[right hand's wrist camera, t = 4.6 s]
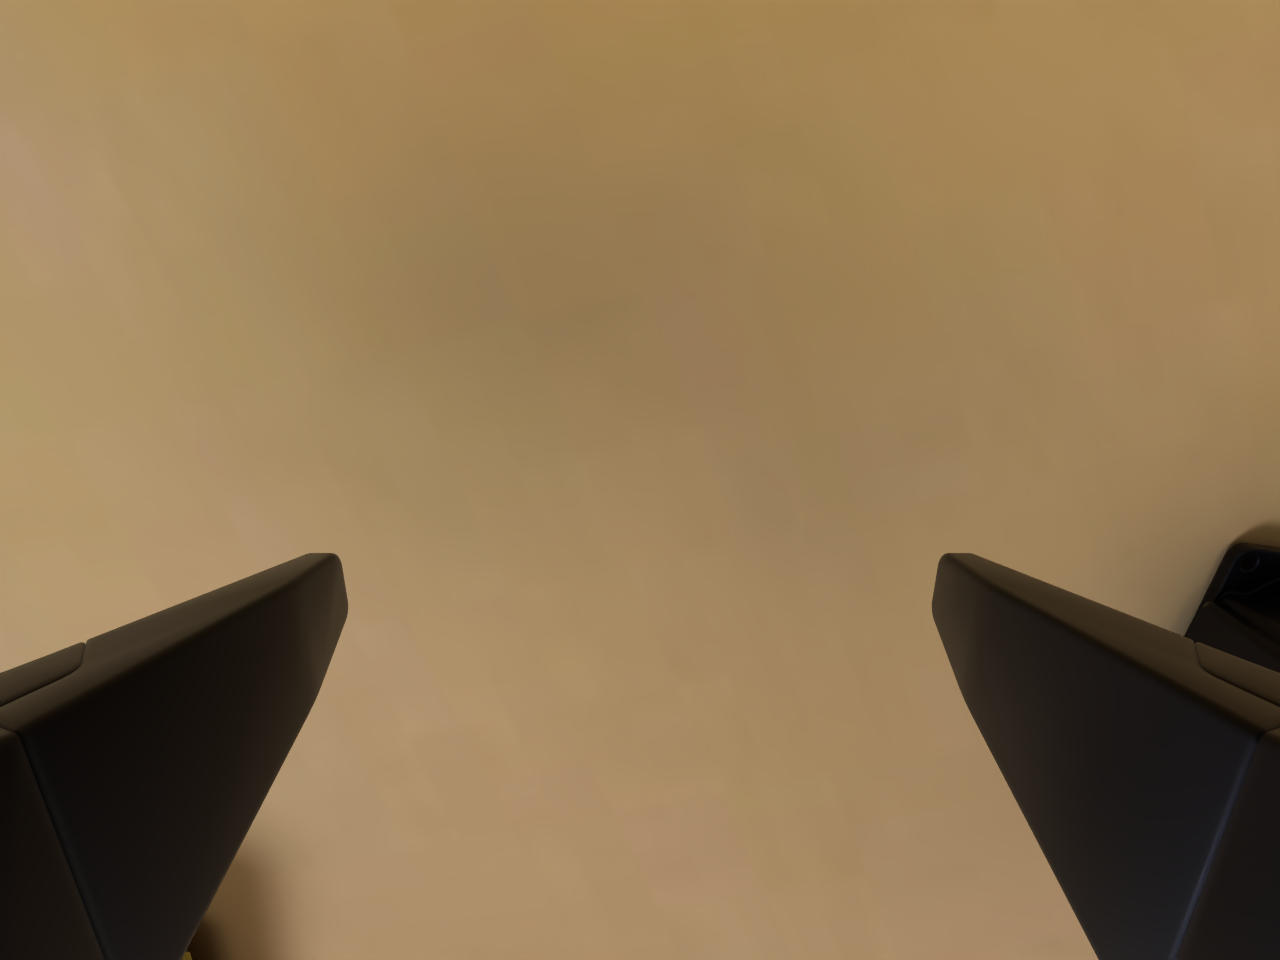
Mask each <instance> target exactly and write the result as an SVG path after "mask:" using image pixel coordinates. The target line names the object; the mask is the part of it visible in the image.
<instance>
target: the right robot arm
mask: <svg viewBox="0 0 1280 960" xmlns="http://www.w3.org/2000/svg"><path fill="white" fill-rule="evenodd" d="M1247 557H1248V559H1247V560H1246V561H1245V562H1244V563H1242V561H1243V560H1244V559H1245V558H1247ZM347 613H348V599H347V593H346V587H345V581H344V575H343V569H342V564H341V561H340V559H339V557H338V556H337V555H336V554H333V553H309V554H306V555H303V556H301V557H298V558H295V559H293V560H290V561H288V562H285V563H283V564H280V565H278V566H275V567H272V568H270V569H267V570H265V571H262V572H260V573H257V574H255V575H252V576H249V577H247V578H244V579H242V580H239V581H237V582H234V583H232V584H229V585H226V586H224V587H221V588H219V589H216V590H214V591H211V592H209V593H206V594H203V595H201V596H198V597H196V598H193V599H191V600H188V601H186V602H183V603H180V604H178V605H175V606H173V607H170V608H168V609H165V610H163V611H160V612H157V613H155V614H152V615H150V616H147V617H145V618H142V619H140V620H137V621H134V622H132V623H129V624H127V625H124V626H122V627H119V628H117V629H114V630H111V631H109V632H106V633H104V634H101V635H99V636H96V637H94V638H91V639H89V640H87V642H86V644H85V643H83V642H81V643H78V644H75V645H73V646H70V647H68V648H65V649H63V650H60V651H58V652H55V653H52V654H50V655H47V656H44V657H42V658H39V659H36V660H34V661H31V662H29V663H26V664H23V665H21V666H18V667H15V668H13V669H10V670H7V671H5V672H2V673H0V960H181V959H182V957H183V955H184V953H185V951H186V950H187V948H188V946H189V944H190V942H191V940H192V938H193V936H194V934H195V932H196V930H197V928H198V926H199V924H200V923H201V921H202V919H203V917H204V915H205V913H206V911H207V909H208V907H209V905H210V903H211V901H212V899H213V897H214V896H215V894H216V892H217V890H218V888H219V886H220V884H221V882H222V880H223V878H224V876H225V874H226V872H227V870H228V869H229V867H230V865H231V863H232V861H233V859H234V857H235V855H236V853H237V851H238V849H239V847H240V845H241V843H242V842H243V840H244V838H245V836H246V834H247V832H248V830H249V828H250V826H251V824H252V822H253V820H254V818H255V816H256V815H257V813H258V811H259V809H260V807H261V805H262V803H263V801H264V799H265V797H266V795H267V793H268V791H269V789H270V788H271V786H272V784H273V782H274V780H275V778H276V776H277V774H278V772H279V770H280V768H281V766H282V764H283V763H284V761H285V759H286V757H287V755H288V753H289V751H290V749H291V747H292V745H293V743H294V741H295V739H296V737H297V736H298V734H299V732H300V730H301V728H302V726H303V724H304V722H305V720H306V718H307V716H308V714H309V712H310V710H311V708H312V706H313V704H314V702H315V700H316V697H317V695H318V693H319V690H320V688H321V685H322V683H323V680H324V677H325V675H326V672H327V669H328V666H329V664H330V661H331V658H332V656H333V653H334V650H335V648H336V645H337V642H338V640H339V637H340V634H341V632H342V629H343V626H344V624H345V621H346V618H347ZM932 613H933V618H934V621H935V624H936V626H937V629H938V632H939V634H940V637H941V640H942V642H943V645H944V648H945V650H946V653H947V656H948V658H949V661H950V664H951V666H952V669H953V672H954V675H955V677H956V680H957V683H958V685H959V688H960V690H961V693H962V695H963V697H964V700H965V702H966V704H967V706H968V708H969V710H970V712H971V714H972V716H973V718H974V720H975V722H976V724H977V726H978V728H979V730H980V732H981V734H982V736H983V737H984V739H985V741H986V743H987V745H988V747H989V749H990V751H991V753H992V755H993V757H994V759H995V761H996V763H997V764H998V766H999V768H1000V770H1001V772H1002V774H1003V776H1004V778H1005V780H1006V782H1007V784H1008V786H1009V788H1010V790H1011V791H1012V793H1013V795H1014V797H1015V799H1016V801H1017V803H1018V805H1019V807H1020V809H1021V811H1022V813H1023V815H1024V816H1025V818H1026V820H1027V822H1028V824H1029V826H1030V828H1031V830H1032V832H1033V834H1034V836H1035V838H1036V840H1037V842H1038V843H1039V845H1040V847H1041V849H1042V851H1043V853H1044V855H1045V857H1046V859H1047V861H1048V863H1049V865H1050V867H1051V869H1052V870H1053V872H1054V874H1055V876H1056V878H1057V880H1058V882H1059V884H1060V886H1061V888H1062V890H1063V892H1064V894H1065V896H1066V897H1067V899H1068V901H1069V903H1070V905H1071V907H1072V909H1073V911H1074V913H1075V915H1076V917H1077V919H1078V921H1079V923H1080V924H1081V926H1082V928H1083V930H1084V932H1085V934H1086V936H1087V938H1088V940H1089V942H1090V944H1091V946H1092V948H1093V950H1094V951H1095V953H1096V955H1097V957H1098V959H1099V960H1280V548H1276V547H1269V546H1262V545H1255V544H1248V543H1243V544H1238V545H1236V546H1234V547H1232V548H1231V549H1229V550H1228V552H1227V553H1226V554H1225V556H1224V558H1223V560H1222V562H1221V564H1220V566H1219V568H1218V570H1217V572H1216V574H1215V576H1214V578H1213V580H1212V582H1211V584H1210V586H1209V588H1208V590H1207V592H1206V594H1205V596H1204V598H1203V600H1202V602H1201V604H1200V606H1199V608H1198V610H1197V612H1196V614H1195V616H1194V618H1193V620H1192V622H1191V624H1190V626H1189V628H1188V630H1187V632H1186V634H1185V636H1181V635H1179V634H1176V633H1174V632H1171V631H1169V630H1166V629H1163V628H1161V627H1158V626H1156V625H1153V624H1151V623H1148V622H1146V621H1143V620H1140V619H1138V618H1135V617H1133V616H1130V615H1128V614H1125V613H1123V612H1120V611H1117V610H1115V609H1112V608H1110V607H1107V606H1105V605H1102V604H1100V603H1097V602H1094V601H1092V600H1089V599H1087V598H1084V597H1082V596H1079V595H1077V594H1074V593H1071V592H1069V591H1066V590H1064V589H1061V588H1059V587H1056V586H1054V585H1051V584H1048V583H1046V582H1043V581H1041V580H1038V579H1036V578H1033V577H1031V576H1028V575H1025V574H1023V573H1020V572H1018V571H1015V570H1013V569H1010V568H1008V567H1005V566H1002V565H1000V564H997V563H995V562H992V561H990V560H987V559H985V558H982V557H979V556H977V555H974V554H971V553H947V554H944V555H943V556H942V557H941V559H940V561H939V564H938V569H937V575H936V581H935V587H934V593H933V599H932Z"/></svg>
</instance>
